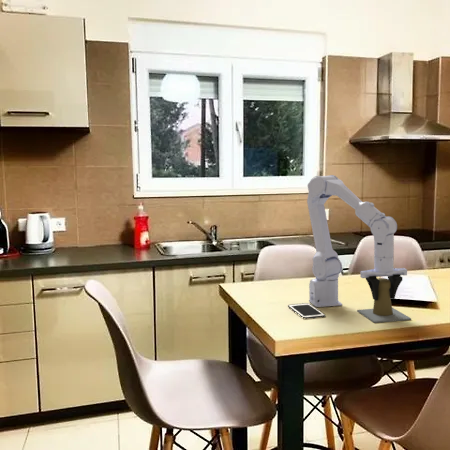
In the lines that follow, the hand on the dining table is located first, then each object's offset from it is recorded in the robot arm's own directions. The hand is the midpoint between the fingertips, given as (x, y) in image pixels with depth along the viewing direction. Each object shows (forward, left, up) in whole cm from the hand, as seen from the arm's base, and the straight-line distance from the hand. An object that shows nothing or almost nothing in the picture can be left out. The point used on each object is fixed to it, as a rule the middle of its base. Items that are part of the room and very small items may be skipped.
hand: (383, 298), depth 149 cm
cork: (0, +1, -5) cm, 5 cm away
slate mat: (0, 0, -5) cm, 5 cm away
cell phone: (-22, +10, -6) cm, 25 cm away
